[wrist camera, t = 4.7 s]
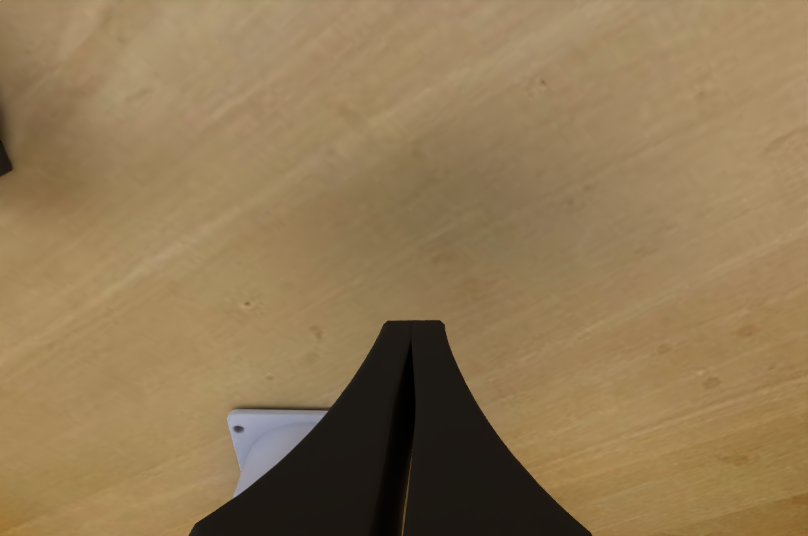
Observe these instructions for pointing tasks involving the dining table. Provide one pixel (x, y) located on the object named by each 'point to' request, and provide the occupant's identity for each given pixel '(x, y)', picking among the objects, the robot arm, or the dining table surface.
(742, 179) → the dining table surface
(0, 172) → the scale
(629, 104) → the dining table surface
